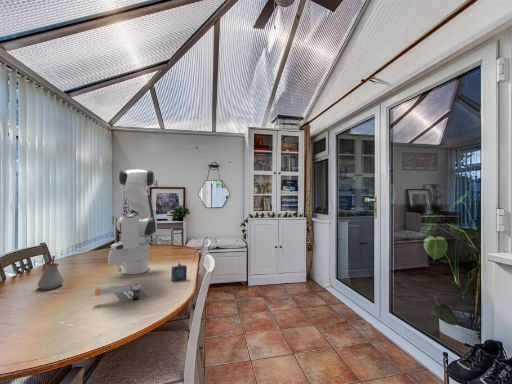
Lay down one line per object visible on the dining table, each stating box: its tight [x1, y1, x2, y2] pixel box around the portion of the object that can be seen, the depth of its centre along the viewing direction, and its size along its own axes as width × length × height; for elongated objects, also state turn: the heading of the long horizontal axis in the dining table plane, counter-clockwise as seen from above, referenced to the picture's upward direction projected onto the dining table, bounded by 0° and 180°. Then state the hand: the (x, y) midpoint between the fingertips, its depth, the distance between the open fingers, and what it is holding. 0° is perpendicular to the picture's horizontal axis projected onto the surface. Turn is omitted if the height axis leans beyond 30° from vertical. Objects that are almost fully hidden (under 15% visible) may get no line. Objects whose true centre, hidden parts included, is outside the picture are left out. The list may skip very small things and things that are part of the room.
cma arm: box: [94, 283, 142, 297], centre depth 119 cm, size 20×4×3 cm, turn 110°
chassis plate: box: [113, 289, 150, 305], centre depth 127 cm, size 18×12×1 cm, turn 44°
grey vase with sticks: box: [37, 255, 64, 291], centre depth 143 cm, size 21×12×15 cm, turn 36°
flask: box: [170, 262, 188, 282], centre depth 153 cm, size 9×3×11 cm, turn 109°
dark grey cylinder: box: [133, 291, 140, 302], centre depth 122 cm, size 3×3×4 cm
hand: (129, 269), depth 129 cm, fingers open, 8 cm apart
